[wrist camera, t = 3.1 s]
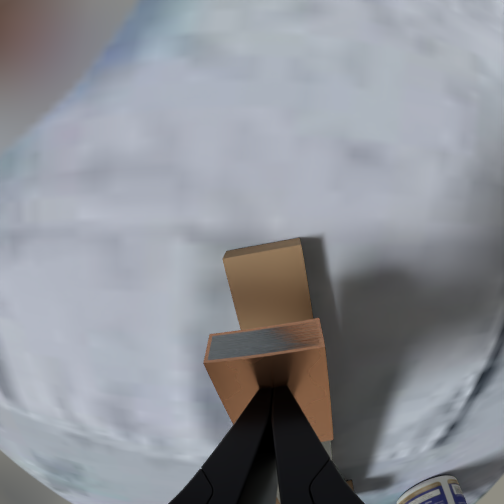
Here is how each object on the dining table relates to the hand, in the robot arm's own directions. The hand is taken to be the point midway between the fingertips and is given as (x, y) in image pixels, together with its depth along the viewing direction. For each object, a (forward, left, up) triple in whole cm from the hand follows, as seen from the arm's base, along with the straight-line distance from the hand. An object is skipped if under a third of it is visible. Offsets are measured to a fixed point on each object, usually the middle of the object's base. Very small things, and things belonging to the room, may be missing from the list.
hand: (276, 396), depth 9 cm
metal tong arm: (-7, 0, -3) cm, 8 cm away
